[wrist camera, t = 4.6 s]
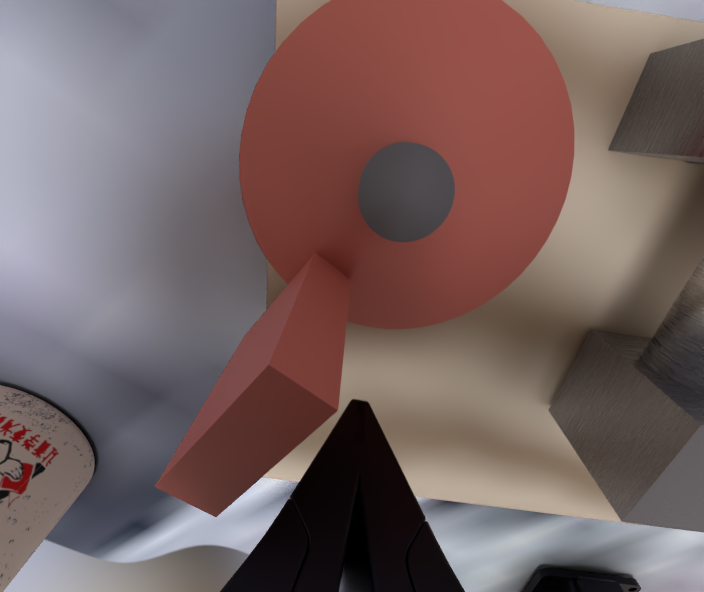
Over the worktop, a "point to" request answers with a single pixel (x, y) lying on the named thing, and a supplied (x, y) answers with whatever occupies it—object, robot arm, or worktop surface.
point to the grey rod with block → (643, 415)
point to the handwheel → (377, 206)
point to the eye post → (666, 107)
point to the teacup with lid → (36, 474)
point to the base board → (534, 293)
